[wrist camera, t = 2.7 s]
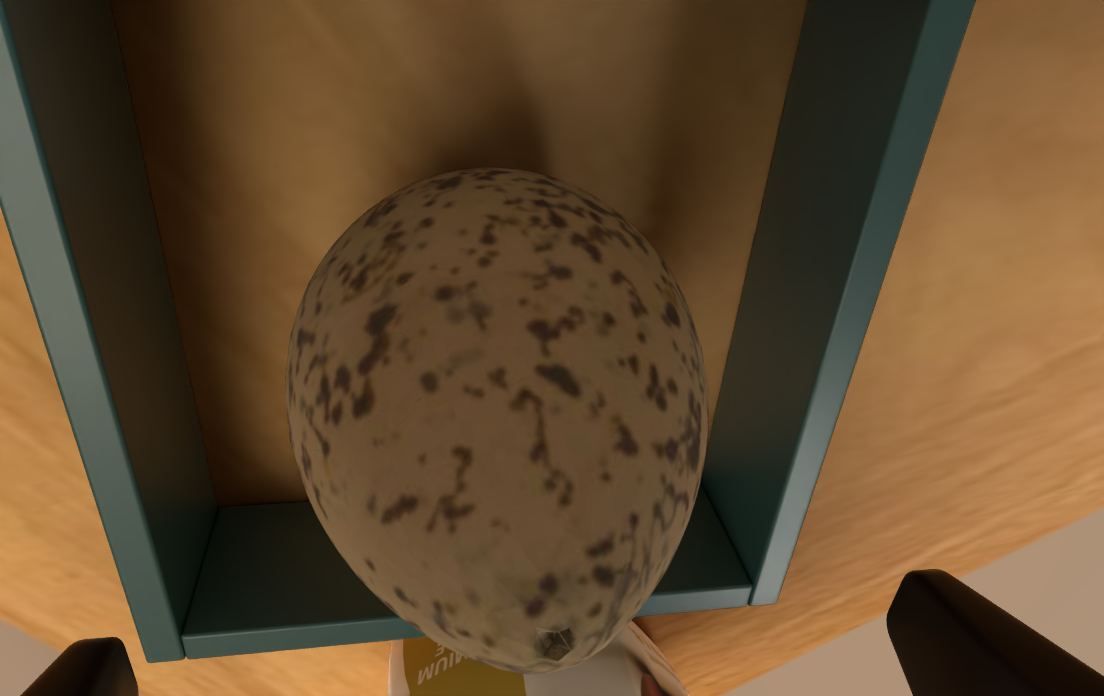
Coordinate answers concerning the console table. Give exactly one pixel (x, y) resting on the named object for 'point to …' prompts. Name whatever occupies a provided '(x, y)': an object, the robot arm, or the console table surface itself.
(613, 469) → the decorative egg
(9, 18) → the frame
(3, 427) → the console table surface
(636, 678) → the juice carton
